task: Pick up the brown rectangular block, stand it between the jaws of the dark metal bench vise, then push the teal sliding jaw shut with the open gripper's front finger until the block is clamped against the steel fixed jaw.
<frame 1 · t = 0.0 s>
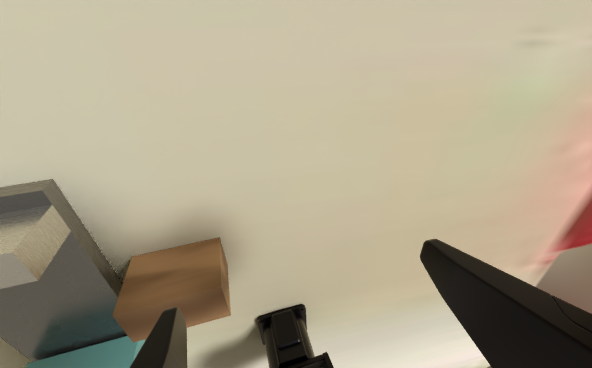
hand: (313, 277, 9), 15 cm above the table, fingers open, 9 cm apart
brown rectangular block: (183, 260, 26), on the table
vise base: (57, 290, 24), on the table
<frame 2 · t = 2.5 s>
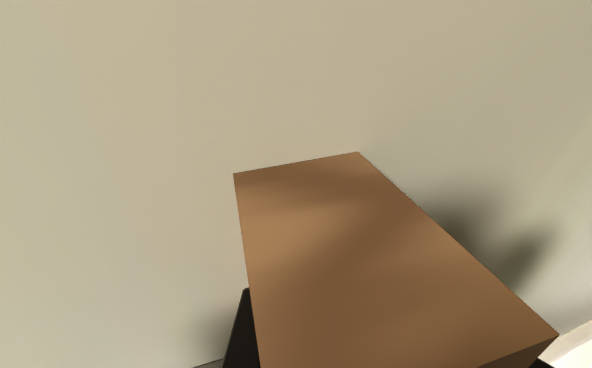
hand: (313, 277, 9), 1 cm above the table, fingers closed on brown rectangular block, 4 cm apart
brown rectangular block: (302, 252, 10), on the table, touching gripper
dish: (560, 354, 36), on the table
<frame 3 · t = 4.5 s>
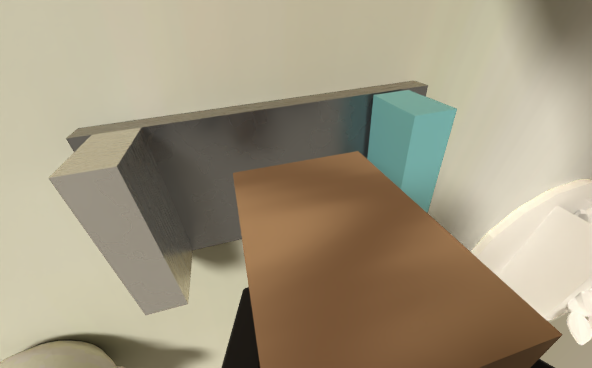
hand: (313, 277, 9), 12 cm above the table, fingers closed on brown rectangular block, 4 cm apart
brown rectangular block: (302, 251, 10), point 10 cm above the table, touching gripper
teacup: (84, 353, 26), on the table
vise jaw: (398, 173, 18), point 4 cm above the table, slide at 14.0 cm
vise base: (273, 167, 20), on the table
dish: (525, 248, 39), on the table
when the fingers open (4 cm above the table, at t = 6.4 s): brown rectangular block stays where it is, resting on vise base.
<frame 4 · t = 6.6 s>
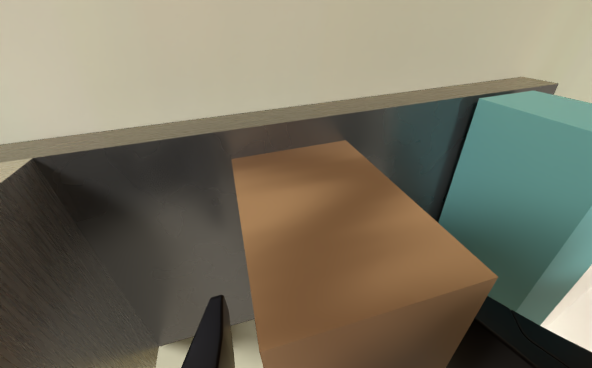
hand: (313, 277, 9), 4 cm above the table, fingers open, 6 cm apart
brown rectangular block: (296, 235, 11), point 1 cm above the table, touching vise base
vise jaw: (507, 232, 11), point 4 cm above the table, slide at 14.0 cm
vise base: (292, 213, 12), on the table
dish: (585, 289, 32), on the table
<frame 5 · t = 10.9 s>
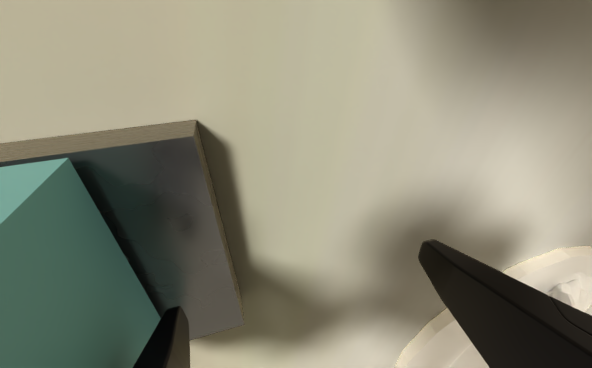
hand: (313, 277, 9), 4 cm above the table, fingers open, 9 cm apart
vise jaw: (75, 355, 7), point 4 cm above the table, slide at 12.7 cm, touching gripper
dish: (490, 325, 29), on the table
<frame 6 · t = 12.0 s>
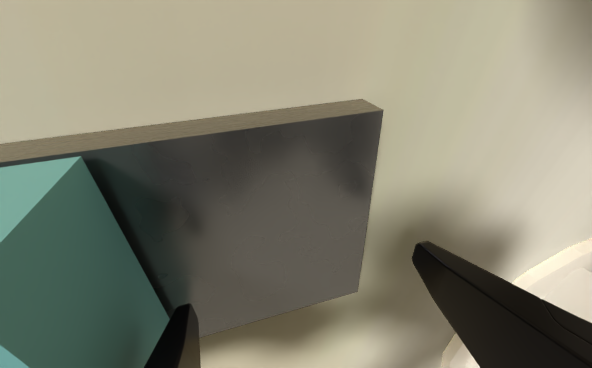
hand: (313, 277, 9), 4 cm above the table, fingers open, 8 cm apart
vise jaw: (87, 352, 7), point 4 cm above the table, slide at 6.8 cm, touching gripper, brown rectangular block
vise base: (101, 256, 10), on the table
dish: (532, 309, 30), on the table
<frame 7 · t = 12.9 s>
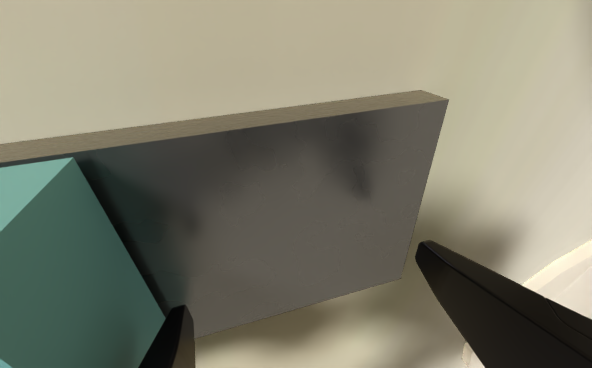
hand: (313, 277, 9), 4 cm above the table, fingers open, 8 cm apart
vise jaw: (81, 353, 7), point 4 cm above the table, slide at 4.1 cm, touching gripper, brown rectangular block
vise base: (170, 241, 11), on the table
dish: (551, 301, 31), on the table
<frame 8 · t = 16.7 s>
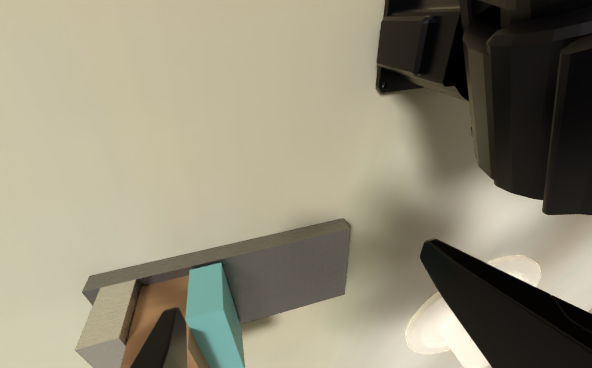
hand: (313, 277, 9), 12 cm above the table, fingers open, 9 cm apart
brown rectangular block: (181, 308, 24), point 1 cm above the table, touching vise base, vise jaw
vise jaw: (219, 324, 22), point 4 cm above the table, slide at 4.1 cm, touching brown rectangular block
vise base: (238, 280, 26), on the table
dish: (467, 304, 45), on the table
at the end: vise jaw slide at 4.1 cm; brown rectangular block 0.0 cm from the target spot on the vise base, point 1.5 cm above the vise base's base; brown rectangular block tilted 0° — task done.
